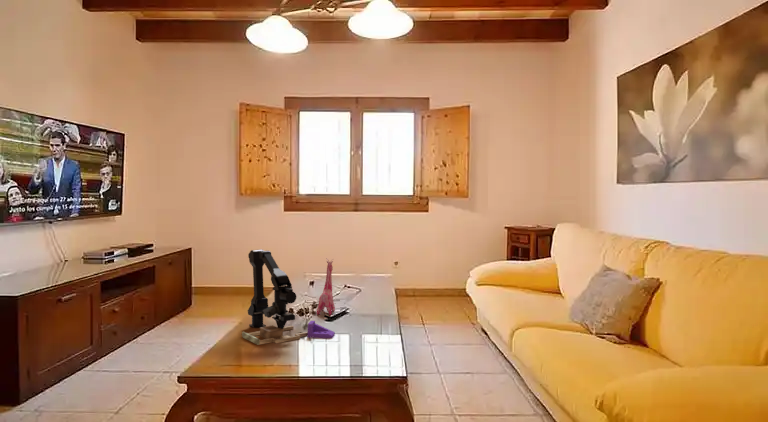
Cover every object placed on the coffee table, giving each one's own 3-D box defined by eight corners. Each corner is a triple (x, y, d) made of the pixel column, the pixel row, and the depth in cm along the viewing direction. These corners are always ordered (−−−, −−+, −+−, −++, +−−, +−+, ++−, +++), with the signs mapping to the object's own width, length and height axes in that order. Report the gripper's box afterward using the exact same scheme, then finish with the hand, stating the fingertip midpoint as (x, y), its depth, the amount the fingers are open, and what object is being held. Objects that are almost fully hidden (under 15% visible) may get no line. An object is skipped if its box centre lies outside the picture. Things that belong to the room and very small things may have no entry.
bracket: (307, 338, 281) (307, 324, 280) (310, 334, 288) (310, 320, 287) (332, 339, 280) (332, 325, 279) (334, 335, 286) (334, 321, 286)
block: (259, 336, 282) (259, 327, 282) (272, 334, 287) (272, 325, 287) (269, 341, 275) (269, 331, 274) (282, 338, 279) (282, 329, 279)
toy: (337, 307, 347) (338, 257, 346) (329, 317, 322) (329, 263, 320) (323, 307, 348) (324, 257, 346) (314, 317, 322) (314, 263, 321)
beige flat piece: (241, 337, 280) (241, 331, 280) (292, 328, 297) (292, 323, 297) (260, 346, 265) (260, 340, 265) (311, 336, 282) (311, 331, 282)
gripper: (256, 299, 285) (256, 330, 285) (274, 305, 270) (275, 338, 271) (276, 296, 292) (276, 326, 293) (295, 302, 277) (295, 334, 278)
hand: (280, 331), depth 283 cm, fingers closed
